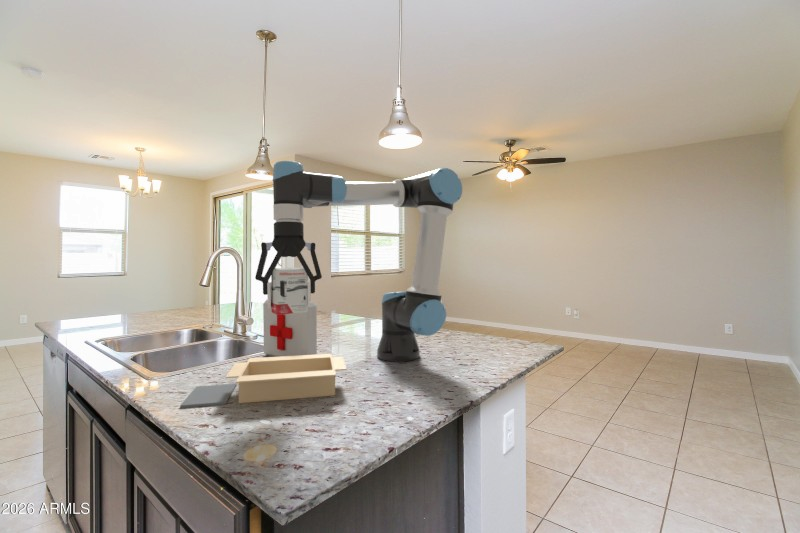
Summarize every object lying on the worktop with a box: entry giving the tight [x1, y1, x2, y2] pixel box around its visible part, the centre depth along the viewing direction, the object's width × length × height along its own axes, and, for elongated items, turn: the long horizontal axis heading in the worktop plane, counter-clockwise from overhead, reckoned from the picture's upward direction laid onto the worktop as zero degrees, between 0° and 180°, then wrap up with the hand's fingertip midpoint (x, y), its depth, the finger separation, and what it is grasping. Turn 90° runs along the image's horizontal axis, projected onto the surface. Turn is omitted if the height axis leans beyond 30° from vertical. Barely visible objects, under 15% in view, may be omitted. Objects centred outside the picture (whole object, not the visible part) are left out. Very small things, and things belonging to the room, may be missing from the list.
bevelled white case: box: [262, 299, 318, 357], centre depth 131 cm, size 21×8×20 cm, turn 58°
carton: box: [225, 353, 347, 404], centre depth 101 cm, size 29×20×6 cm
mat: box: [179, 383, 237, 409], centre depth 96 cm, size 10×13×1 cm
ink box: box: [270, 267, 309, 315], centre depth 100 cm, size 8×5×12 cm, turn 123°
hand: (289, 306), depth 100 cm, fingers closed on ink box, 9 cm apart
